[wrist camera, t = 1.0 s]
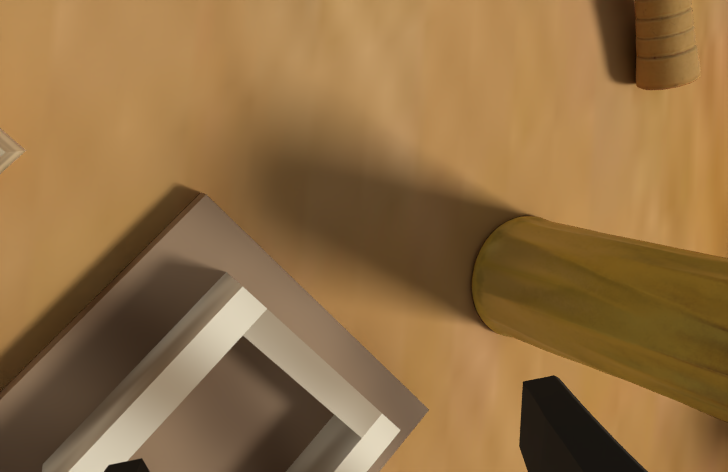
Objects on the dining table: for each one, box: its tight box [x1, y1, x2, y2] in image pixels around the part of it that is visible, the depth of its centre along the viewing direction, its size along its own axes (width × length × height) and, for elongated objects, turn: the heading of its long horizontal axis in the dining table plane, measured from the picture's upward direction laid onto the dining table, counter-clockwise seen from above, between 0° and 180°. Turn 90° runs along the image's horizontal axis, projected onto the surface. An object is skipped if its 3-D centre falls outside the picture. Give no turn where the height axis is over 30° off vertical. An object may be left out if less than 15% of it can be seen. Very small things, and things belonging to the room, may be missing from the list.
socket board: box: [0, 193, 429, 472], centre depth 22 cm, size 12×14×4 cm
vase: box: [472, 216, 728, 423], centre depth 23 cm, size 6×6×14 cm
